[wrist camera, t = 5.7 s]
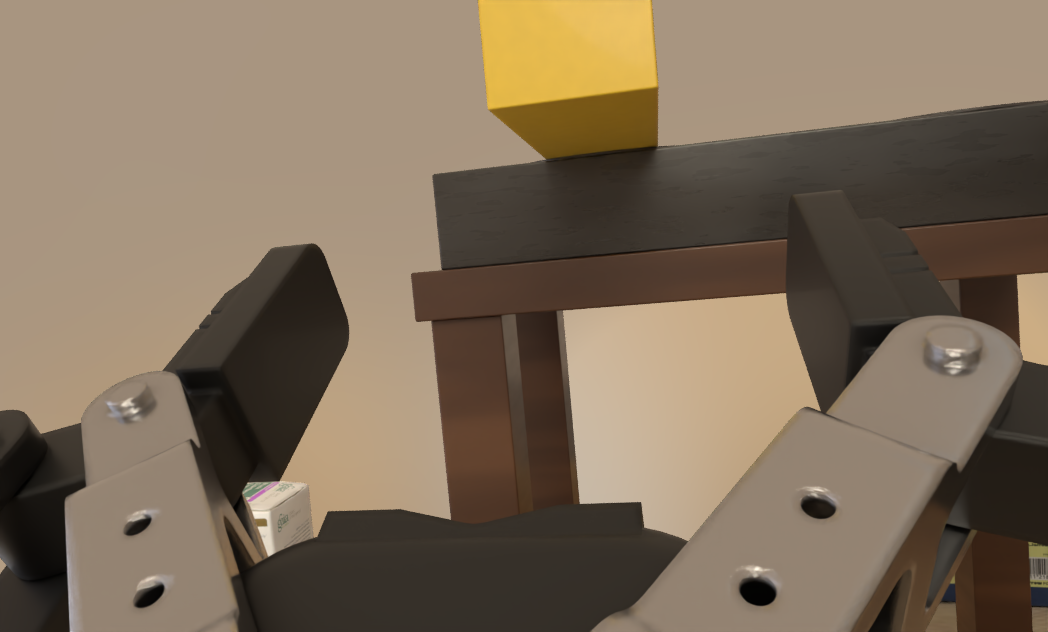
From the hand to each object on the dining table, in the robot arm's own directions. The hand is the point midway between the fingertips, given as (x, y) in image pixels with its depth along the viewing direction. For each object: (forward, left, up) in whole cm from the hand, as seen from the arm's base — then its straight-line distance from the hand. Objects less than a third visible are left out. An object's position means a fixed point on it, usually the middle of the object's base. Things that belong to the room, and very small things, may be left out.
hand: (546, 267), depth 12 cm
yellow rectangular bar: (-13, -16, +4) cm, 21 cm away
